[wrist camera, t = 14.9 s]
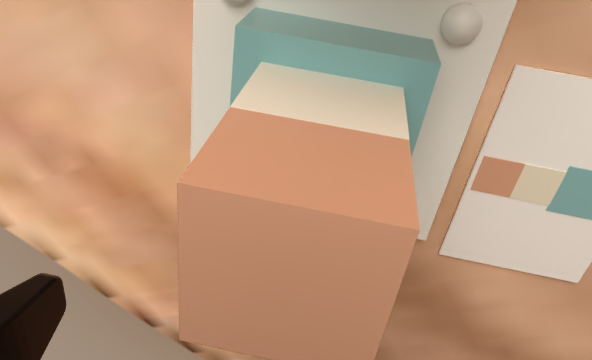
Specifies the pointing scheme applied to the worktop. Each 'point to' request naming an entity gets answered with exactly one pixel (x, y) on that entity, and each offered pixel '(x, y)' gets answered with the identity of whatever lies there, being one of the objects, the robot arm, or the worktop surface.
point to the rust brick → (293, 238)
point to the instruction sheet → (531, 181)
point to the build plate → (422, 16)
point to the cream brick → (326, 99)
